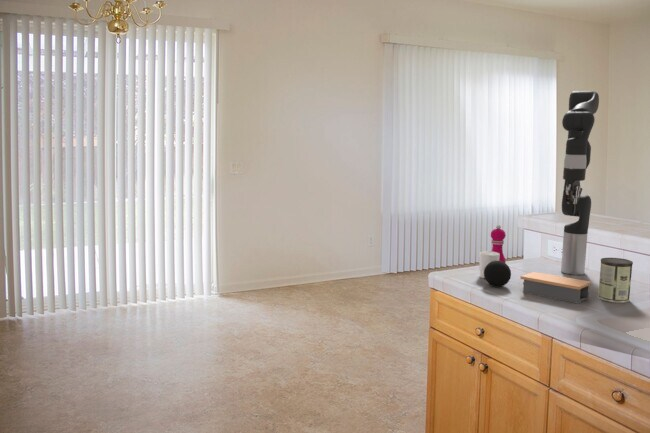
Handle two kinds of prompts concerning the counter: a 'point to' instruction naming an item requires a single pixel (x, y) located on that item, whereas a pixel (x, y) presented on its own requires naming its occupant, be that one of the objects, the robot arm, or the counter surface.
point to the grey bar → (582, 293)
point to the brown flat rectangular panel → (556, 280)
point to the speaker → (497, 273)
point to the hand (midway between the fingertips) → (571, 213)
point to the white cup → (487, 260)
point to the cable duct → (554, 291)
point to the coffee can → (615, 280)
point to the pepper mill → (498, 241)
